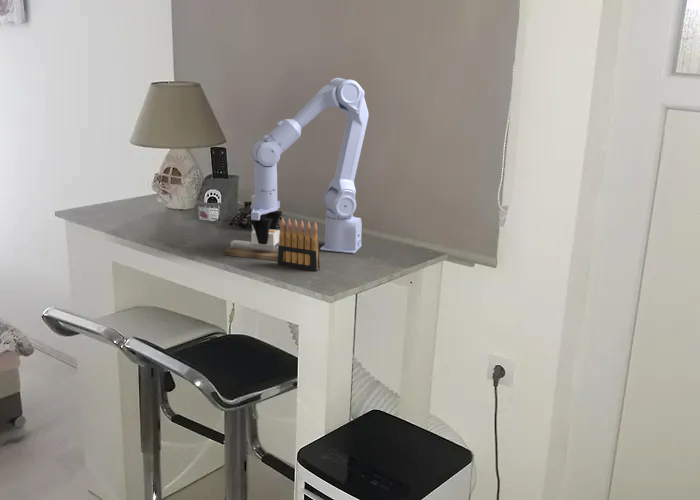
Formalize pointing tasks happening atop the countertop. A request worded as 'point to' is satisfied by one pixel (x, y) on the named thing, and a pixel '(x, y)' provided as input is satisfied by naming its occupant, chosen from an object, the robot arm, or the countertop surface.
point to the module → (272, 241)
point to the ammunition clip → (298, 246)
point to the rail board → (251, 254)
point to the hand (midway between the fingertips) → (266, 241)
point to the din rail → (249, 246)
